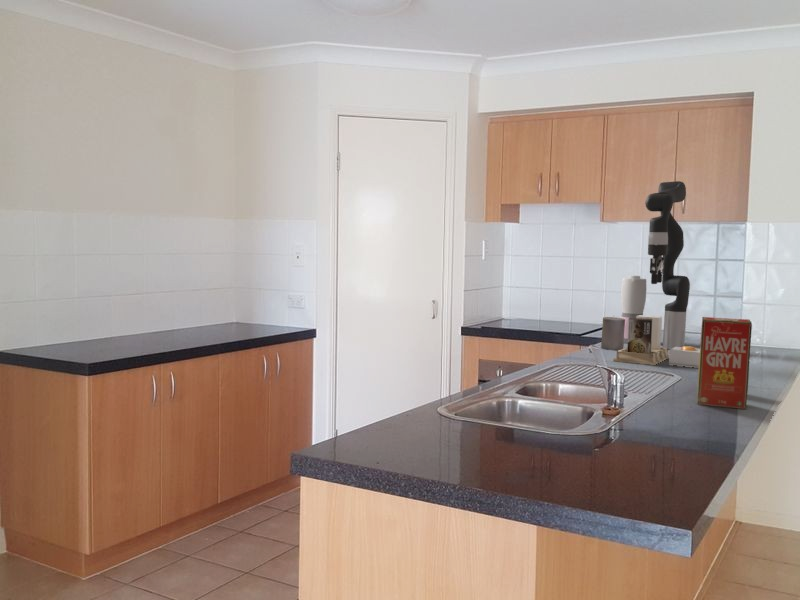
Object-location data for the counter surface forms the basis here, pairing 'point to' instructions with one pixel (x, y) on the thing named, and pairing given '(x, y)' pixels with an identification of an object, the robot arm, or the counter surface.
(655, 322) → the carton
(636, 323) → the coffee box
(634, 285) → the blender
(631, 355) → the pallet
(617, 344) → the pillar candle
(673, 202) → the robot arm
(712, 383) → the food packaging
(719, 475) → the counter surface
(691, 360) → the console
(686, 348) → the button
